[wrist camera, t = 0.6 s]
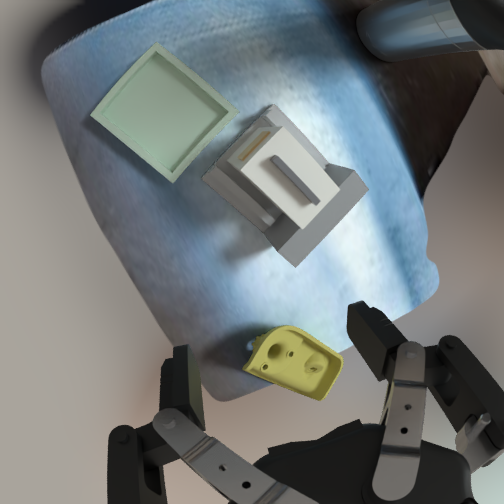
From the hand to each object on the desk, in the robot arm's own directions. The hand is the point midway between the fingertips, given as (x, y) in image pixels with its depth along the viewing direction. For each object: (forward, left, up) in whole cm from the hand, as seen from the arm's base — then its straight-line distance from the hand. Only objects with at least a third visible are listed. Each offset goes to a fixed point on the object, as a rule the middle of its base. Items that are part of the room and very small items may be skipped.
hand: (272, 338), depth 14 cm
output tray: (-5, -13, -23) cm, 27 cm away
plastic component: (+10, +24, -24) cm, 35 cm away
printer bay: (-8, +1, -23) cm, 25 cm away
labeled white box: (-8, 0, -22) cm, 24 cm away
